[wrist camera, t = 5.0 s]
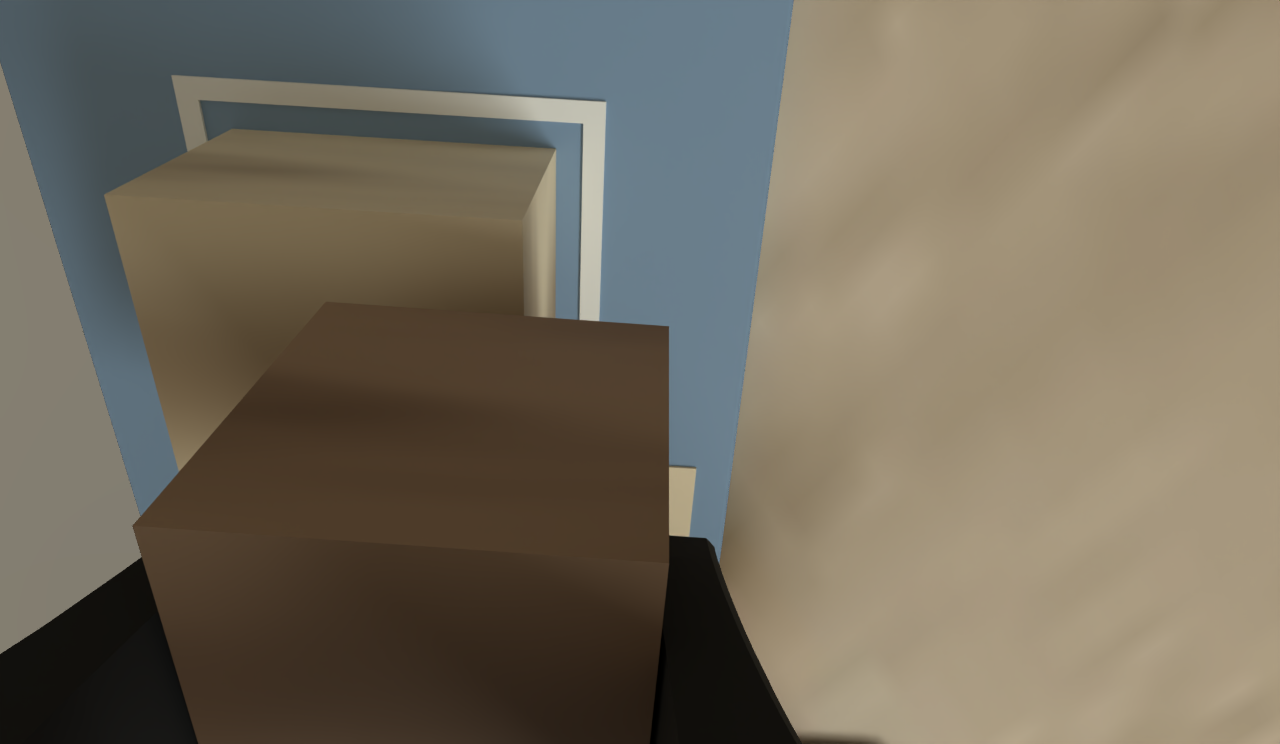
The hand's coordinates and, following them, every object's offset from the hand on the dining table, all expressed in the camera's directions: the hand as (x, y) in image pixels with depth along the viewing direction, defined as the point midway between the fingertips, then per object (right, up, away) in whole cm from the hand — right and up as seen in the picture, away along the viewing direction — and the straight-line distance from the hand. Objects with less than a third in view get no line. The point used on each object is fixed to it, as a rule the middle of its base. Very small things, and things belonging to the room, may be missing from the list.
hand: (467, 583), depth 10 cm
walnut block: (0, +1, +2) cm, 2 cm away
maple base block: (-3, +4, +7) cm, 8 cm away
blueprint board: (-3, +5, +7) cm, 9 cm away
